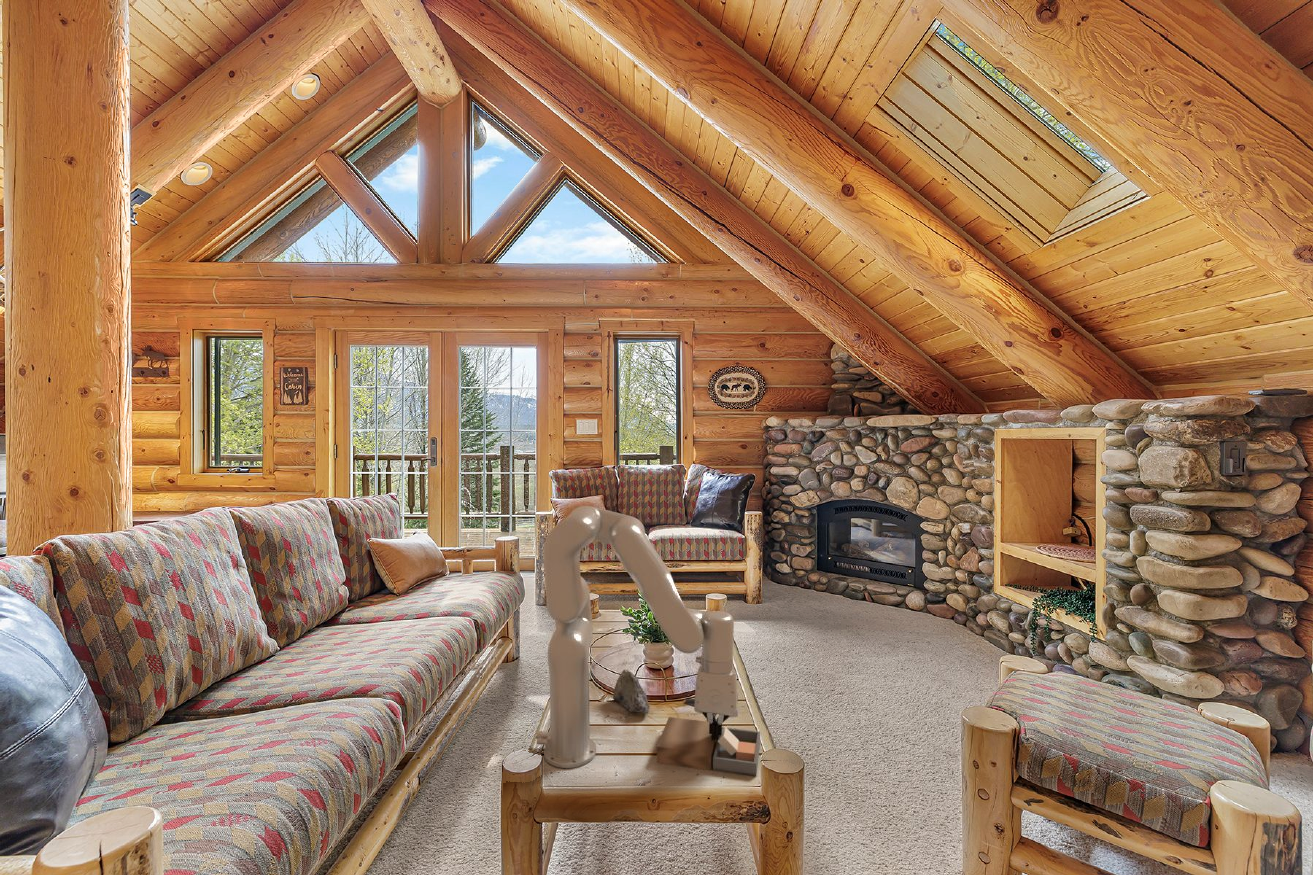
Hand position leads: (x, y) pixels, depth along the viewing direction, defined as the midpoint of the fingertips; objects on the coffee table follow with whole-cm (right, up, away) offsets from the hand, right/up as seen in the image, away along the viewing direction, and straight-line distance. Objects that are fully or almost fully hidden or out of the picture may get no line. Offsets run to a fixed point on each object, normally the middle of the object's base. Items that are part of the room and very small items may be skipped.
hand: (715, 736), depth 149 cm
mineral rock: (-22, -3, +23) cm, 31 cm away
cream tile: (+2, -1, 0) cm, 3 cm away
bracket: (+1, -4, +19) cm, 19 cm away
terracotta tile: (+7, -2, -2) cm, 8 cm away
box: (+5, -4, -1) cm, 7 cm away
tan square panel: (-6, -4, +2) cm, 8 cm away
